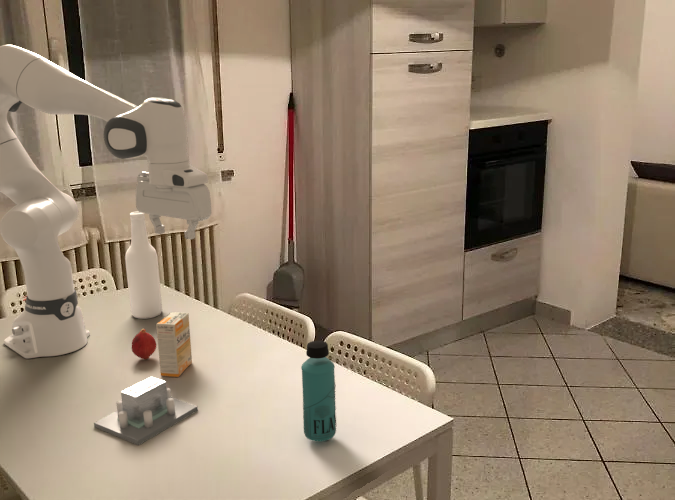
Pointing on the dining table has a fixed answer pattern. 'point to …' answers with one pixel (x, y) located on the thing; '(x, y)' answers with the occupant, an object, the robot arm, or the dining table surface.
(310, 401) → the beverage bottle
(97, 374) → the dining table surface
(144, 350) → the onion
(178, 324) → the supplement box
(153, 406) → the block
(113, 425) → the pin tray
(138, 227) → the alcohol
